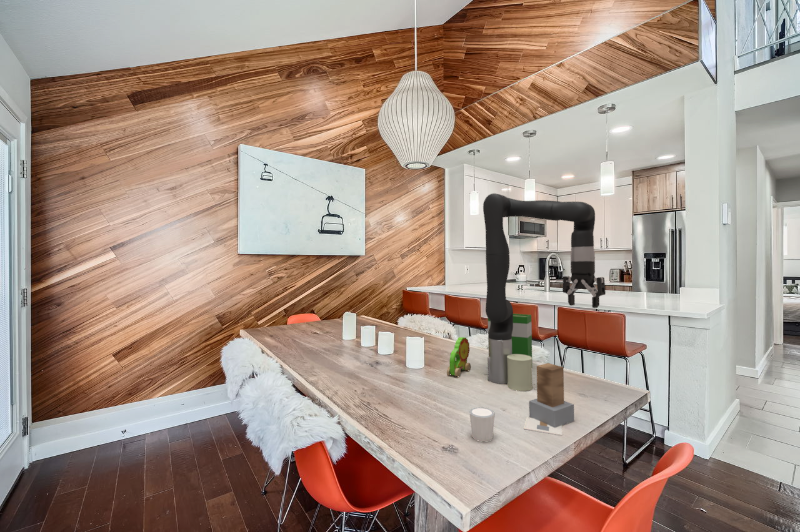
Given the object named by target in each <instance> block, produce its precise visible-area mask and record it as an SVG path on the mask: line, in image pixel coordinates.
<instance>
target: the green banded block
mask: <svg viewBox="0 0 800 532" xmlns="http://www.w3.org/2000/svg"><path fill="white" fill-rule="evenodd" d="M490 324H491V321H490V320H489V318H488V317H487V332H488V331H489V329H490ZM532 326H533V325H532V314H526V313H524V314H523V313H513V331H512V354H522V355H528V356H530V357H532V358H533V337H532V336H533V330H532ZM487 347H488V348H487V349H488V351H489V345H488V346H487Z"/></svg>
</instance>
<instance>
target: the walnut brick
mask: <svg viewBox="0 0 800 532" xmlns="http://www.w3.org/2000/svg"><path fill="white" fill-rule="evenodd" d="M564 372H565V371H564V367H563V366H560V365H557V364H552V363H549V362H547V363H542V364H538V365H536V399H537V401H538V402H540V403H543V404H545V405H548V406H550V407H555V406H558V405H561V404H564V401H565V385H564V384H565V382H564V378H565V377H564Z"/></svg>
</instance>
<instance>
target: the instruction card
mask: <svg viewBox="0 0 800 532" xmlns="http://www.w3.org/2000/svg"><path fill="white" fill-rule="evenodd" d="M525 418H526V419H525V423H524V427H523V429H524V430H528V431H533V432H539V433H546V434H550V435H555V434H556V435H557V436H561V435H562V436H563V426H562V425H561V426H558V427H556V428H554V427H552V426H550V425H547V424H546V423H543V422H541V421H539V420H536V419H534V418H531V417H529V416H526V417H525Z"/></svg>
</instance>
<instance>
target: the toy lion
mask: <svg viewBox="0 0 800 532" xmlns="http://www.w3.org/2000/svg"><path fill="white" fill-rule="evenodd" d="M469 355H470V342H469V339H468V338H467V337H466V336H465V337H463V336H460V337H459V336H458V337H457V339H456V340H455V344H454V348H453V349H452V351H451V353H450V355H449V366H448V367H447V369H446V375H447V376H449V375H450V374H451V376H455V377H456V376H457V377H456V378H459V377H458V376H460V377H461V374H462V370H463V371H466V370H467V371H466V372H469V371H468V370H470V371H471V368H472V366H471V363H470V362H468V358H469ZM461 369H462V370H461Z"/></svg>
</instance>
